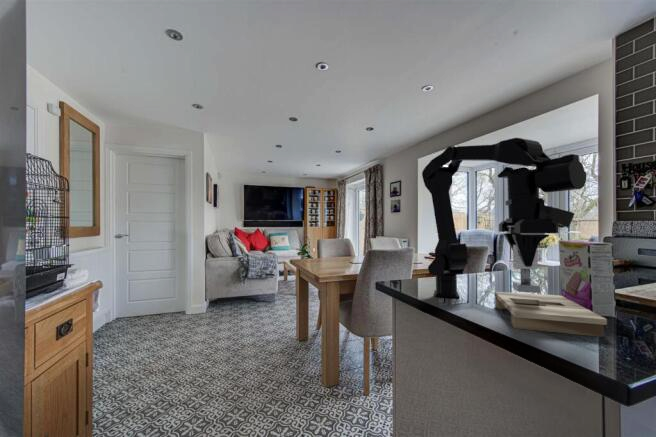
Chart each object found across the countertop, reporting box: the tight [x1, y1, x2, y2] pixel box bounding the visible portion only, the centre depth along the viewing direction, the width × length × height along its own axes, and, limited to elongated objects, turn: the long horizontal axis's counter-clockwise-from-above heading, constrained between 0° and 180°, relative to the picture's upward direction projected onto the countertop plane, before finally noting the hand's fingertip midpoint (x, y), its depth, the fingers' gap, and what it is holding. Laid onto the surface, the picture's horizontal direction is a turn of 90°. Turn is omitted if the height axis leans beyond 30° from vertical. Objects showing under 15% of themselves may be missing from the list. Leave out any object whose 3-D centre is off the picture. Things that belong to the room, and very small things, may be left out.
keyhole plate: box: [494, 291, 608, 338], centre depth 60 cm, size 18×14×4 cm
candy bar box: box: [558, 239, 617, 318], centre depth 67 cm, size 11×5×16 cm, turn 168°
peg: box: [512, 244, 541, 294], centre depth 61 cm, size 4×4×10 cm
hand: (525, 265), depth 61 cm, fingers closed on peg, 4 cm apart
